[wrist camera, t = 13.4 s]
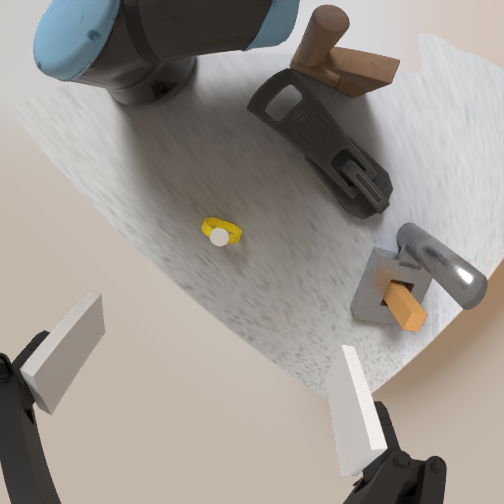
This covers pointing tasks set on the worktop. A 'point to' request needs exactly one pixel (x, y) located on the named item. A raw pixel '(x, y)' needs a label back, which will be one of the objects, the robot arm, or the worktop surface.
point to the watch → (221, 231)
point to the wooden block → (339, 56)
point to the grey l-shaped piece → (415, 275)
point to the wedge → (404, 306)
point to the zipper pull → (327, 148)
